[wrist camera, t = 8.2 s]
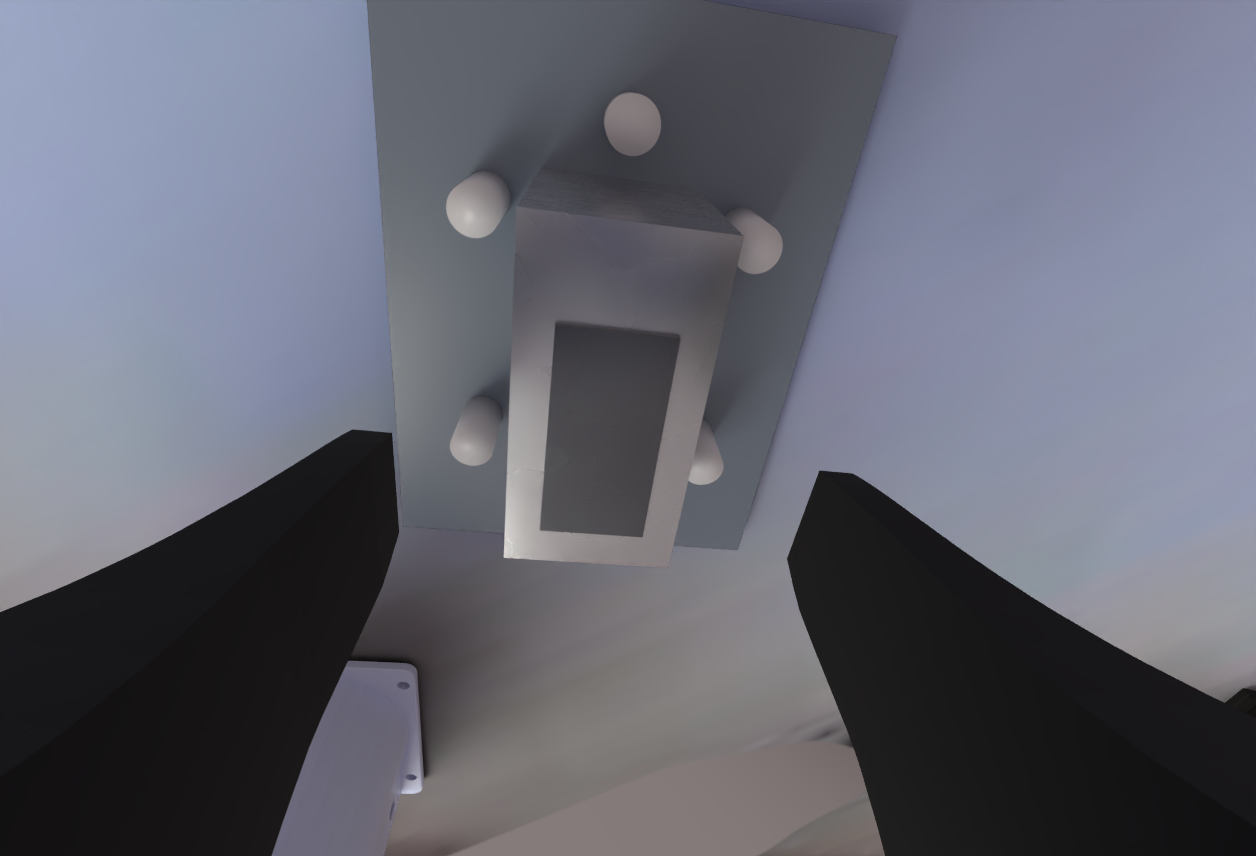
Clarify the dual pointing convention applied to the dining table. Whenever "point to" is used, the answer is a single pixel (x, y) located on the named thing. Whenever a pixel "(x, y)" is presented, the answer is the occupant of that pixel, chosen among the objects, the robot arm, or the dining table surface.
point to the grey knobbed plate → (615, 147)
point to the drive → (610, 363)
